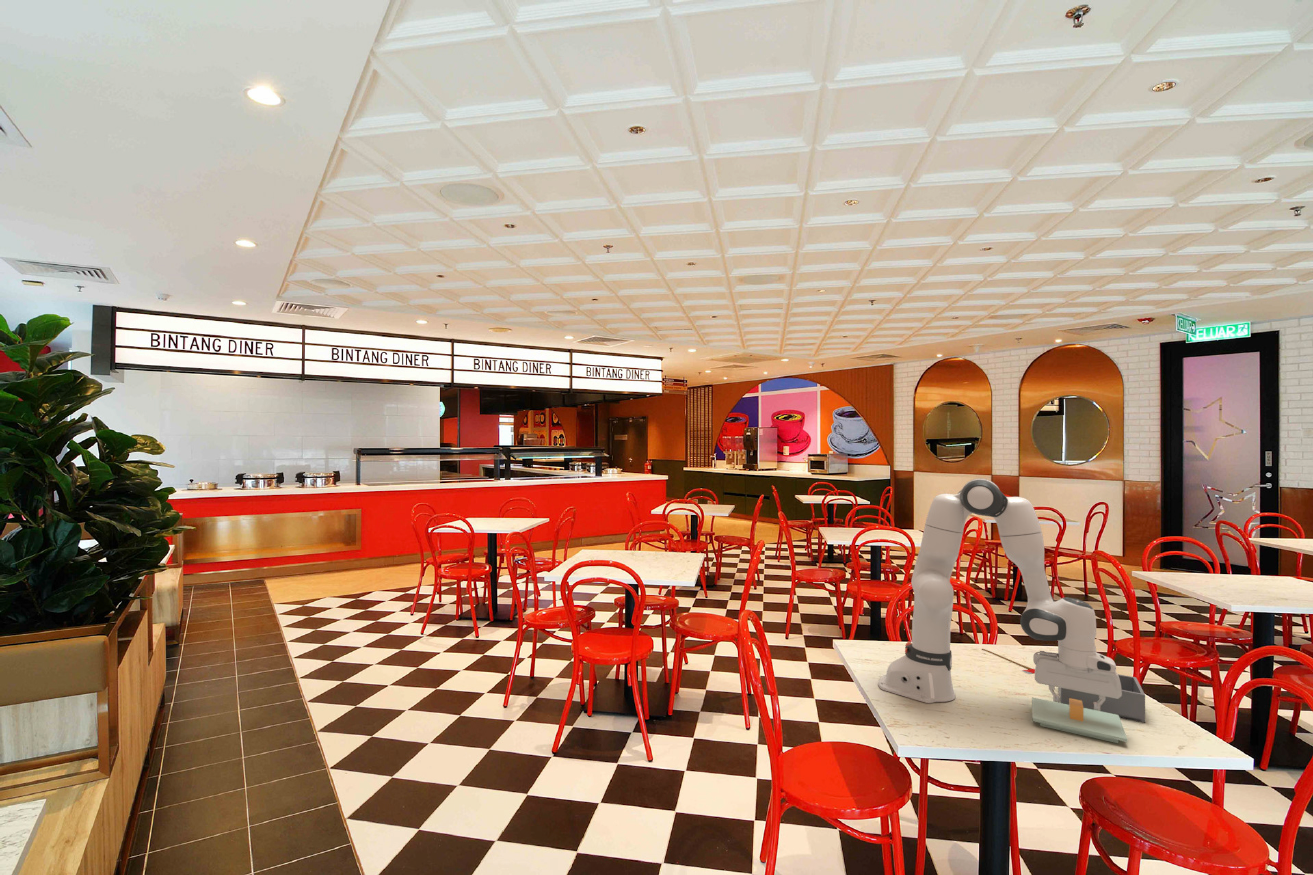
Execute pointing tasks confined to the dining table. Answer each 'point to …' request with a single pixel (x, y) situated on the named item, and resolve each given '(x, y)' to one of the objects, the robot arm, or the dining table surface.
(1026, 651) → the dining table surface
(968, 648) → the dining table surface
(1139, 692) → the tub
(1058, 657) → the robot arm
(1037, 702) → the lid
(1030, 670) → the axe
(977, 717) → the dining table surface
